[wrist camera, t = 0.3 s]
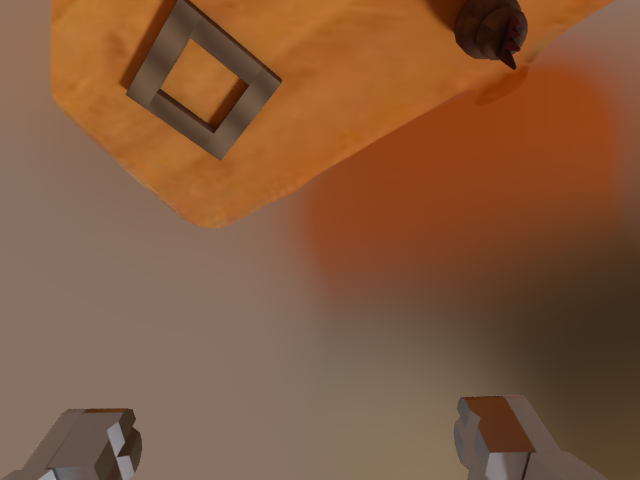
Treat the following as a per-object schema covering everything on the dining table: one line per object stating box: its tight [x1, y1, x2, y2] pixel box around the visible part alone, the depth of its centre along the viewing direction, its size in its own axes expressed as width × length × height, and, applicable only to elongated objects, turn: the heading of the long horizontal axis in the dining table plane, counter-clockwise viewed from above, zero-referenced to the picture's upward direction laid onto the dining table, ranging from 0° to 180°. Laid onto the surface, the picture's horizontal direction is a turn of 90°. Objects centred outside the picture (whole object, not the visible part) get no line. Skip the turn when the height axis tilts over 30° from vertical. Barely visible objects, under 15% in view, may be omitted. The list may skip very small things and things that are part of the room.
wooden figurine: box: [454, 0, 528, 70], centre depth 43 cm, size 7×6×15 cm
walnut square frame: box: [126, 0, 282, 161], centre depth 54 cm, size 15×15×2 cm
